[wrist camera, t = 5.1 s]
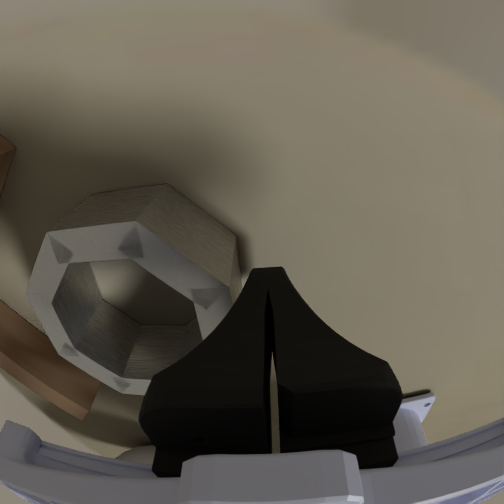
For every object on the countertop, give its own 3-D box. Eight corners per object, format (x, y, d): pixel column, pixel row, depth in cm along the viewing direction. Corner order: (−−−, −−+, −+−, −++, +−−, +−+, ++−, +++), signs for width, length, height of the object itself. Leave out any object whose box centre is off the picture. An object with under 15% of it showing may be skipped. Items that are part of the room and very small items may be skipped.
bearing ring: (248, 340, 16) (246, 397, 13) (102, 340, 16) (80, 388, 13) (229, 177, 12) (218, 213, 9) (49, 202, 12) (2, 238, 9)
